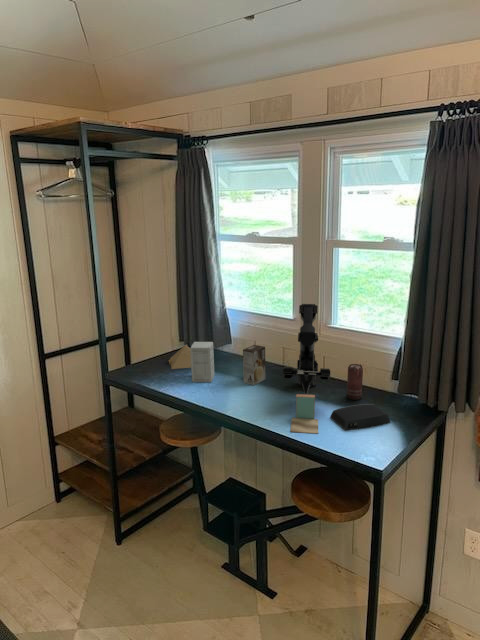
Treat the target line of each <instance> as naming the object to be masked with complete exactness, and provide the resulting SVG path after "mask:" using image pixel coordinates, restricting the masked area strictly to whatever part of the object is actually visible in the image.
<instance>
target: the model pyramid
mask: <svg viewBox="0 0 480 640" xmlns="http://www.w3.org/2000/svg"><path fill="white" fill-rule="evenodd" d="M190 348H191V347H189V346H188V345H187V344H184V345H183V346H182V347H181V348H180V349H179V350H178V351H177V352H176V353H174V354H173V355H172V356H171V357H170V358H169V359H168V365H170V368H171V370H176V369H185V368H186V369H191V349H190Z"/></svg>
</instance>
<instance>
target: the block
mask: <svg viewBox="0 0 480 640" xmlns="http://www.w3.org/2000/svg"><path fill="white" fill-rule="evenodd" d="M295 396H296V400H295V401H296V402H295V403H296V404H295V418H303V419H315V413H316V412H315V410H316V409H315V407H316V401H315V400H316V394H305V393H303V394H300V393H296V395H295Z"/></svg>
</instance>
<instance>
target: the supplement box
mask: <svg viewBox="0 0 480 640" xmlns="http://www.w3.org/2000/svg"><path fill="white" fill-rule="evenodd" d="M189 348H190V349H191V368H190V369H191V382H192V383H212V382H213V379H214V378H215V362H214V361H215V357H214V353H215V352H214V342H213V341H193V343H192V344H191V346H190V347H189Z"/></svg>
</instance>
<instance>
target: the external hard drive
mask: <svg viewBox="0 0 480 640" xmlns="http://www.w3.org/2000/svg"><path fill="white" fill-rule="evenodd" d="M329 418H330V419H331V420H333V421H334V422H335V423H336V424H337V425H338V426H339V427H340V428H341V429H343V430H344V431H354V430H355V431H356V430H362V429H368V428H374V427H380V426H384V425H388V424H390V423H391V420H390V416H389V414H388V413H386V412H385V411H383V409H381V408H380V407H378V406H377V405H375V404H374V403H364V404H354V405H348V406H344V407H340V408H336V409H335V410H333V411H332V413H330V417H329Z"/></svg>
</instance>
